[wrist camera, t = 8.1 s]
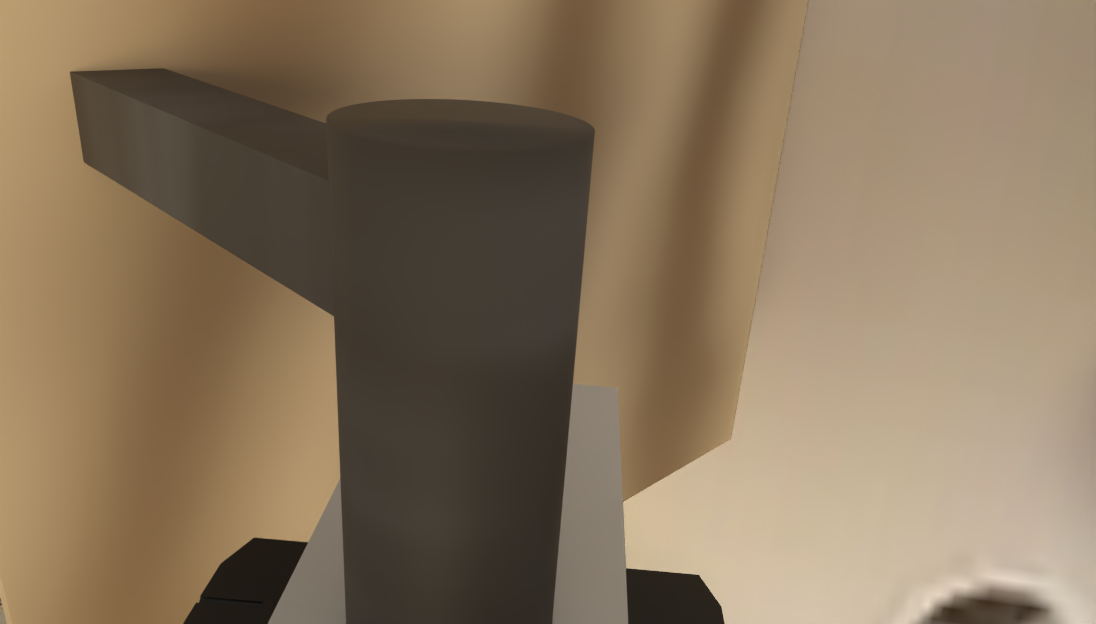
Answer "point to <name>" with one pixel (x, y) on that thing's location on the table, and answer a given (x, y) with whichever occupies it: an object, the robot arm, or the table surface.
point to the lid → (363, 282)
